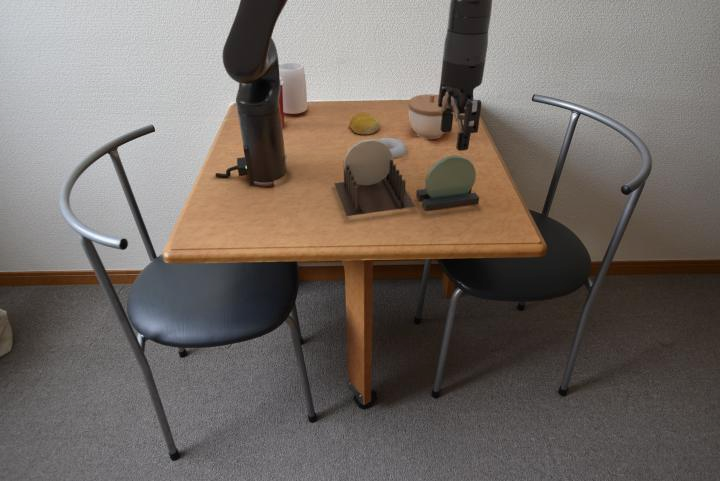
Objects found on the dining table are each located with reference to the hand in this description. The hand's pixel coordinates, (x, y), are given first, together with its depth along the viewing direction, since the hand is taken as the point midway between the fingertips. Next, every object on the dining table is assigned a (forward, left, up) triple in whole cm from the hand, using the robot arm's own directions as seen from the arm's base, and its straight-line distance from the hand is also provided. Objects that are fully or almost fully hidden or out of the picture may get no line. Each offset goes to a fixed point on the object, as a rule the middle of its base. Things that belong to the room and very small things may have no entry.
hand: (453, 140), depth 95 cm
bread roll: (-8, +44, -16) cm, 47 cm away
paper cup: (-33, +52, -16) cm, 63 cm away
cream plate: (-15, +11, -14) cm, 23 cm away
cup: (-26, +61, -16) cm, 68 cm away
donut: (-6, +26, -16) cm, 31 cm away
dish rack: (-15, +6, -15) cm, 22 cm away
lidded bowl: (+9, +36, -16) cm, 40 cm away
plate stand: (0, 0, -15) cm, 15 cm away
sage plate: (0, 0, -15) cm, 15 cm away
